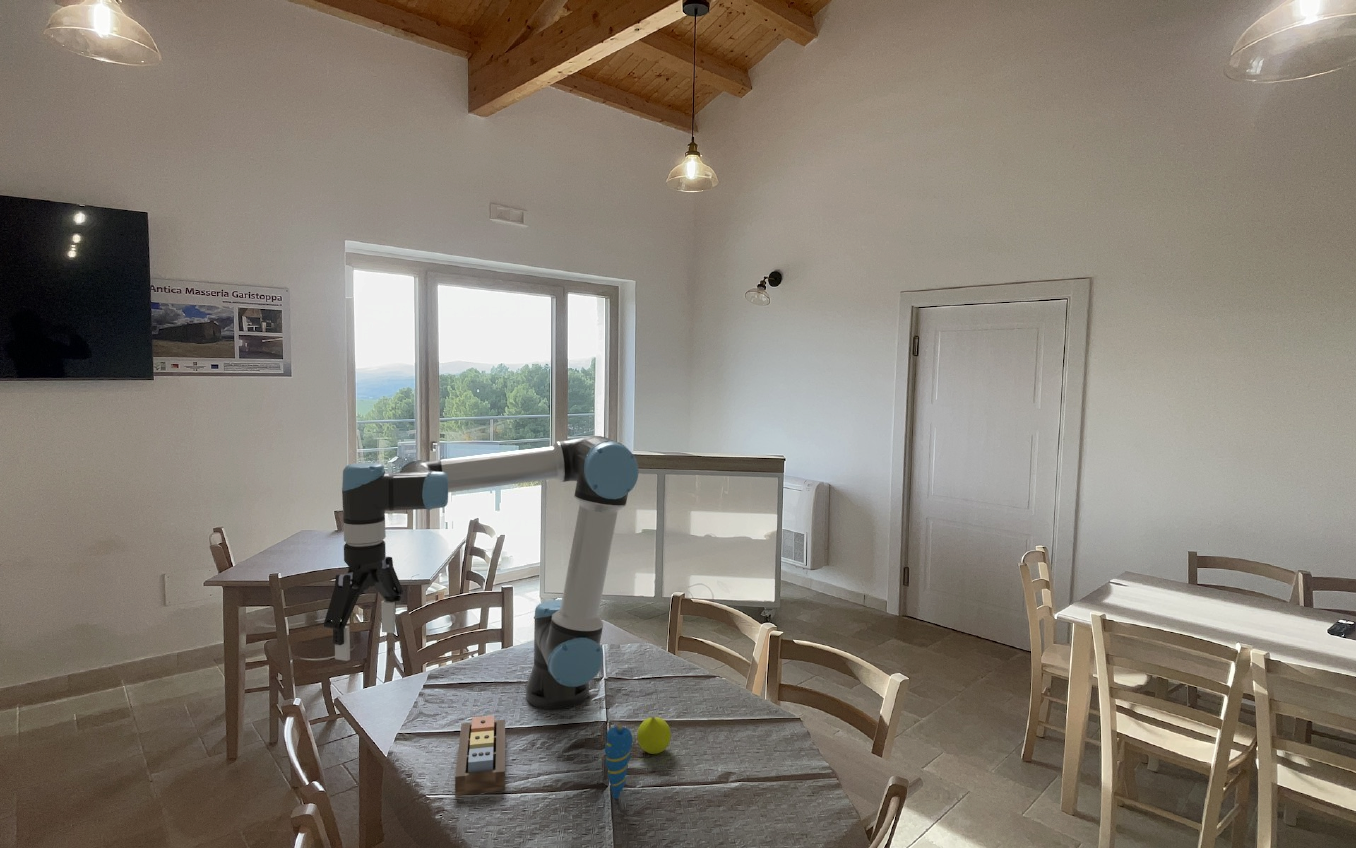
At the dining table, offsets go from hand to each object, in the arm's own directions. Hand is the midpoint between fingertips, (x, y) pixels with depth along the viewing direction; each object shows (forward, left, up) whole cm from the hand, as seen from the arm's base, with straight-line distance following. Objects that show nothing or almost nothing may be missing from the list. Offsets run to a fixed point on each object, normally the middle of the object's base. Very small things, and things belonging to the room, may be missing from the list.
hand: (366, 645), depth 138 cm
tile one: (-23, +1, -21) cm, 31 cm away
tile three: (-23, +13, -21) cm, 33 cm away
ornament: (-48, +23, -24) cm, 58 cm away
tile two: (-23, +7, -21) cm, 32 cm away
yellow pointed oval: (-58, +9, -24) cm, 63 cm away
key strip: (-23, +7, -23) cm, 33 cm away
